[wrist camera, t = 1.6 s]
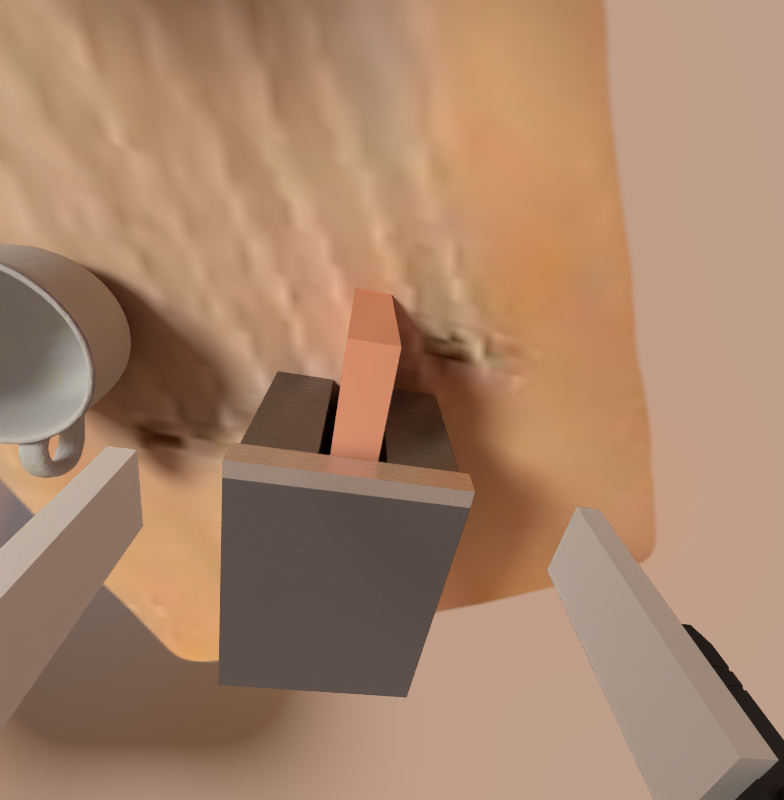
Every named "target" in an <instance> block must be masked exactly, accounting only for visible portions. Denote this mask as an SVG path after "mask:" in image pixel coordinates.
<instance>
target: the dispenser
mask: <svg viewBox="0 0 784 800" xmlns="http://www.w3.org/2000/svg"><path fill="white" fill-rule="evenodd" d="M332 385H333V380H330V379H323V378H317V377H310V376H304V375H297V374H291V373H284V372H277V374H276V376H275V378H274V380H273V382H272V384H271V385H270V387H269V389H268V391H267V393H266V395H265V397H264V399H263V401H262V403H261V405H260V407H259V408H258V410H257V412H256V414H255V416H254V418H253V420H252V422H251V424H250V426H249V428H248V430H247V432H246V433H245V435H244V437H243V439H242V441H241V443H232V444H231V446H230V448H229V450H228V451H227V453H226V455H225V457H224V459H223V474H222V528H221V582H220V636H219V685H230V686H244V687H260V688H274V689H289V690H304V691H320V692H334V693H349V694H364V695H380V696H395V697H407V694H408V691H409V688H410V685H411V682H412V679H413V676H414V673H415V670H416V668H417V665H418V661H419V659H420V656H421V653H422V650H423V647H424V644H425V641H426V638H427V635H428V632H429V629H430V626H431V623H432V620H433V617H434V614H435V611H436V608H437V605H438V602H439V599H440V596H441V593H442V590H443V587H444V584H445V581H446V578H447V575H448V572H449V569H450V566H451V563H452V560H453V557H454V554H455V551H456V548H457V545H458V543H459V540H460V537H461V534H462V531H463V528H464V525H465V522H466V519H467V516H468V513H469V510H470V507H471V504H472V501H473V498H474V495H475V489H474V486H473V483H472V480H471V478H470V475H469V474H467V473H459V470H458V467H457V464H456V461H455V457H454V454H453V451H452V448H451V444H450V441H449V438H448V435H447V431H446V428H445V425H444V422H443V418H442V415H441V412H440V409H439V405H438V402H437V399H436V396H434V395H428V394H421V393H415V392H408V391H402V390H395V389H393V391H392V396H391V401H390V406H389V411H388V415H387V420H386V425H385V430H384V435H383V440H382V445H381V449H380V454H379V459H378V462H376V461H369V460H361V459H353V458H346V457H338V456H331V455H323V450H324V443H325V436H326V429H327V421H328V414H329V407H330V400H331V392H332Z"/></svg>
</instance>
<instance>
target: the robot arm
mask: <svg viewBox="0 0 784 800" xmlns="http://www.w3.org/2000/svg"><path fill="white" fill-rule="evenodd" d="M142 526H143V520H142V508H141V495H140V482H139V470H138V457H137V450H133V449H125V448H118V447H110V446H108V447H106V448H105V449H104V450H103V451H102V452H101V453H100V454H99V455H98V456H97V457H96V458H95V459H94V460H93V461H92V462H91V463H90V464H89V465H88V466H87V467H85V468H84V469H83V470H82V471H81V472H80V473H79V474H78V475H77V476H76V477H75V478H74V479H73V480H72V481H71V482H70V483H69V484H68V485H67V486H66V487H64V488H63V489H62V490H61V491H60V492H59V493H58V494H57V495H56V496H55V497H54V498H53V499H52V500H51V501H50V502H49V503H48V504H47V505H46V506H45V507H43V508H42V509H41V510H40V511H39V512H38V513H37V514H36V515H35V516H34V517H33V518H32V519H31V520H30V521H29V522H28V523H27V524H26V525H25V526H24V527H22V529H20V530H19V531H18V532H17V533H16V534H15V535H14V536H13V537H12V538H11V539H10V540H9V541H8V542H7V543H6V544H5V545H4V546H3V547H1V549H0V731H1V730H2V729H3V727H4V725H5V724H6V723H7V721H8V720H9V718H10V717H11V716H12V714H13V713H14V711H15V710H16V708H17V707H18V705H19V704H20V703H21V701H22V699H23V698H24V697H25V695H26V694H27V692H28V691H29V690H30V688H31V687H32V685H33V684H34V682H35V681H36V679H37V678H38V677H39V675H40V674H41V672H42V671H43V669H44V668H45V666H46V665H47V664H48V662H49V661H50V659H51V658H52V656H53V655H54V653H55V652H56V651H57V649H58V648H59V646H60V645H61V643H62V642H63V640H64V639H65V638H66V636H67V635H68V633H69V632H70V630H71V629H72V627H73V626H74V624H75V623H76V622H77V620H78V619H79V617H80V616H81V614H82V613H83V612H84V610H85V609H86V607H87V606H88V604H89V603H90V601H91V600H92V599H93V597H94V595H95V594H96V593H97V591H98V590H99V588H100V587H101V586H102V584H103V583H104V581H105V580H106V578H107V577H108V575H109V574H110V573H111V571H112V570H113V568H114V567H115V565H116V564H117V563H118V561H119V560H120V558H121V557H122V555H123V554H124V552H125V551H126V550H127V548H128V547H129V545H130V544H131V542H132V541H133V539H134V538H135V537H136V535H137V534H138V532H139V531H140V529H141V528H142ZM547 571H548V573H549V575H550V577H551V580H552V582H553V584H554V586H555V588H556V590H557V592H558V595H559V597H560V599H561V601H562V603H563V605H564V608H565V610H566V612H567V614H568V616H569V618H570V620H571V623H572V625H573V627H574V629H575V631H576V633H577V636H578V638H579V640H580V642H581V644H582V646H583V648H584V651H585V653H586V655H587V657H588V660H589V661H590V664H591V666H592V668H593V670H594V672H595V675H596V677H597V679H598V681H599V683H600V685H601V688H602V690H603V692H604V694H605V696H606V698H607V700H608V703H609V705H610V707H611V709H612V711H613V714H614V716H615V718H616V720H617V722H618V724H619V727H620V729H621V731H622V733H623V735H624V737H625V740H626V742H627V744H628V746H629V748H630V750H631V752H632V755H633V756H634V759H635V761H636V763H637V765H638V767H639V770H640V772H641V774H642V776H643V778H644V781H645V782H646V785H647V787H648V789H649V791H650V794H651V795H652V798H653V800H784V740H783V739H782V737H781V736H780V735H779V733H778V732H777V731H776V729H775V728H774V727H773V725H772V724H771V723H770V721H769V720H768V719H767V717H766V716H765V715H764V713H763V712H762V711H761V709H760V708H759V707H758V705H757V704H756V703H755V701H754V700H753V699H752V697H751V696H750V695H749V693H748V692H747V691H745V690H743V686H742V684H741V683H740V681H739V680H738V679H737V677H736V676H735V675H734V673H733V672H731V671H729V667H728V665H727V664H726V663H725V661H724V660H723V659H722V657H721V656H720V655H719V653H718V652H717V651H716V649H715V648H714V647H713V646H712V644H711V643H710V642H708V641H707V640H706V639H705V638H704V637H703V636H702V635H701V634H700V633H699V632H697V631H696V630H695V629H694V628H693V627H692V626H691V625H686V624H681V623H680V622H679V620H678V619H677V617H676V616H675V615H674V613H673V612H672V610H671V609H670V608H669V606H668V605H667V603H666V602H665V601H664V599H663V598H662V596H661V595H660V594H659V592H658V591H657V590H656V588H655V587H654V585H653V584H652V582H651V581H650V580H649V578H648V577H647V575H646V574H645V573H644V571H643V570H642V568H641V567H640V566H639V564H638V563H637V561H636V560H635V559H634V557H633V556H632V554H631V553H630V552H629V550H628V549H627V548H626V546H625V545H624V543H623V542H622V541H621V539H620V538H619V536H618V535H617V534H616V532H615V531H614V529H613V528H612V527H611V525H610V524H609V522H608V521H607V520H606V518H605V517H604V515H603V514H602V513H601V511H600V510H599V509H591V508H583V507H576V509H575V511H574V514H573V516H572V518H571V520H570V522H569V524H568V526H567V529H566V531H565V533H564V535H563V537H562V539H561V541H560V544H559V546H558V548H557V550H556V552H555V554H554V556H553V559H552V561H551V563H550V565H549V567H548V569H547Z"/></svg>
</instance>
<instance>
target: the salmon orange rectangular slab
mask: <svg viewBox="0 0 784 800" xmlns="http://www.w3.org/2000/svg"><path fill="white" fill-rule="evenodd" d="M400 352H401V342H400V336H399V331H398V326H397V321H396V315H395V310H394V305H393V299H392V295H390V294H385V293H379V292H374V291H368V290H363V289H357V288H356V289H355V295H354V301H353V307H352V314H351V320H350V326H349V332H348V338H347V345H346V351H345V358H344V365H343V372H342V379H341V385H340V392H339V399H338V406H337V413H336V419H335V426H334V433H333V440H332V447H331V453H330V455H331V456H338V457H346V458H353V459H361V460H369V461H376V462H378V459H379V454H380V449H381V445H382V440H383V435H384V430H385V425H386V420H387V415H388V411H389V406H390V401H391V396H392V391H393V386H394V381H395V377H396V372H397V367H398V362H399V357H400Z"/></svg>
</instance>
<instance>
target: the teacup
mask: <svg viewBox="0 0 784 800" xmlns="http://www.w3.org/2000/svg"><path fill="white" fill-rule="evenodd" d="M130 350H131V336H130V329H129V326H128V322H127V319H126V316H125V314H124V312H123V310H122V308H121V306H120V304H119V303H118V301H117V299H116V298H115V297H114V295H113V294H112V293H111V292H110V290H109V289H108V288H107V287H106V286H105V284H103V283H102V282H101V281H100V280H99V279H98V278H97V277H96V276H95V275H93V274H92V273H91V272H89V271H88V270H87V269H85V268H84V267H82V266H81V265H79V264H77V263H76V262H74V261H72V260H70V259H68V258H66V257H64V256H62V255H59V254H57V253H54V252H51V251H47V250H44V249H40V248H36V247H31V246H23V245H7V244H0V443H3V444H19V447H18V451H19V458H20V461H21V463H22V465H23V467H24V469H25V470H26V471H27V472H29V473H30V474H32V475H34V476H37V477H42V478H49V477H56V476H61V475H63V474H65V473H67V472H69V471H70V470H71V469H72V468H74V467H75V465H76V464H77V462H78V461H79V459H80V457H81V454H82V451H83V446H84V440H85V421H84V414H85V412H86V411H87V410H88V409H90V408H91V407H92V406H93V405H94V404H95V403H97V402H98V401H99V400H100V399H101V398H102V397H103V396H104V395H106V394H107V393H108V392H109V391H110V390H111V389H112V388H113V386H114V385H115V384H116V383H117V382H118V380H119V379H120V378H121V376H122V374H123V372H124V370H125V368H126V366H127V363H128V361H129V356H130ZM58 434H60V435H59V443H58V447H57V450H56V453H55V456H54V458H53V459H52V460H51V458H50V455H49V451H48V445H49V440H50V438H51V437H52V436H55V435H58Z"/></svg>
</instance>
